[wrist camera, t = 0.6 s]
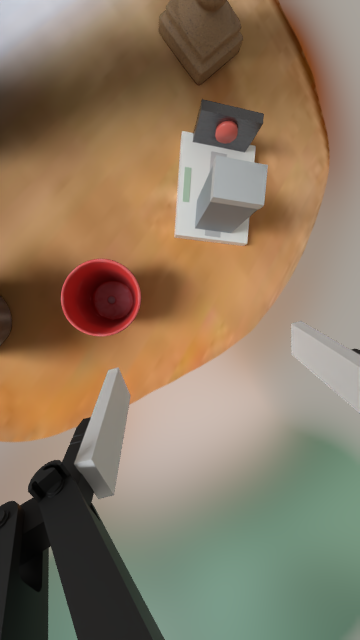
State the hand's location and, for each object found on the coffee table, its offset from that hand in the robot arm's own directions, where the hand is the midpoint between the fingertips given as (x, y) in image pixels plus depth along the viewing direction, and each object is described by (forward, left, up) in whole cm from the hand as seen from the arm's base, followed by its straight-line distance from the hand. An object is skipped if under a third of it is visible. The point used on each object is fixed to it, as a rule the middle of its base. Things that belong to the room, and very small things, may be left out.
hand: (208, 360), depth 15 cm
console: (-19, +18, -25) cm, 36 cm away
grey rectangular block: (-15, +16, -23) cm, 32 cm away
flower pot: (-9, -8, -25) cm, 28 cm away
